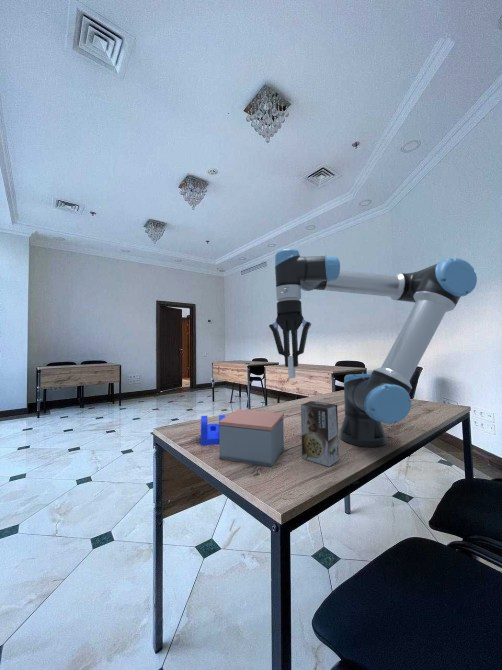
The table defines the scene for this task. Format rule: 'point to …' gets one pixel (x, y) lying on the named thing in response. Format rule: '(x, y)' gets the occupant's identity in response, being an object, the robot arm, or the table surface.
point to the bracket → (210, 431)
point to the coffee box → (319, 432)
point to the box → (251, 444)
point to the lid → (252, 419)
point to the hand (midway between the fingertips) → (292, 377)
